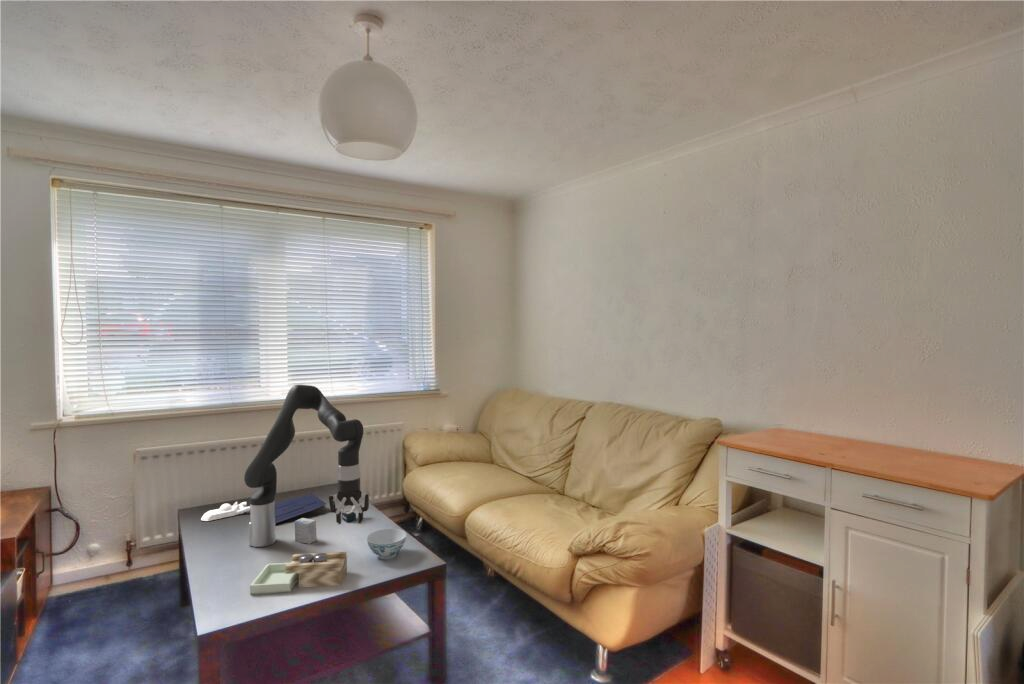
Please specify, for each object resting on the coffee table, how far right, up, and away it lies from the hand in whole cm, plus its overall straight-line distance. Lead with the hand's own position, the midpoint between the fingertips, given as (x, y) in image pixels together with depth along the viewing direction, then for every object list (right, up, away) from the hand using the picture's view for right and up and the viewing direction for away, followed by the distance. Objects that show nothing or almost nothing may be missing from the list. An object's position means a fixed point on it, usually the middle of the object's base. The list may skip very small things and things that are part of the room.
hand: (350, 522), depth 187 cm
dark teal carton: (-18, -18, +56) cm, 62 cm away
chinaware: (+9, -19, +18) cm, 28 cm away
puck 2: (-10, -14, 0) cm, 17 cm away
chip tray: (-25, -20, -2) cm, 32 cm away
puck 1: (-15, -14, -1) cm, 21 cm away
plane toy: (-79, -19, +64) cm, 103 cm away
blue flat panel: (-50, -18, +65) cm, 84 cm away
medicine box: (-29, -19, +33) cm, 48 cm away
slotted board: (-12, -20, 0) cm, 23 cm away
